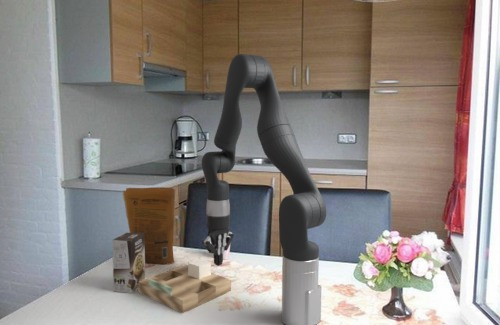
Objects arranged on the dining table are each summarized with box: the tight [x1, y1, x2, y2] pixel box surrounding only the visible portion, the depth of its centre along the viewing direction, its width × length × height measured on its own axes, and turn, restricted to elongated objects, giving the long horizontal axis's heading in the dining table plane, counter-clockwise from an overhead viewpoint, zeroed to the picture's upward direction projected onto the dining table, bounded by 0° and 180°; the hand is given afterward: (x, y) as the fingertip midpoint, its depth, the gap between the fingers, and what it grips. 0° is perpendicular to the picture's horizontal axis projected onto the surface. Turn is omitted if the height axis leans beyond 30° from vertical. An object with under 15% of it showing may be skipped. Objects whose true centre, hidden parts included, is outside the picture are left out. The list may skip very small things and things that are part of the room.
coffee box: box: [112, 232, 146, 294], centre depth 125 cm, size 9×6×16 cm
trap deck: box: [138, 264, 232, 314], centre depth 122 cm, size 20×19×6 cm
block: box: [187, 258, 212, 279], centre depth 126 cm, size 5×5×4 cm
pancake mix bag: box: [122, 187, 177, 265], centre depth 146 cm, size 7×19×28 cm, turn 79°
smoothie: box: [223, 231, 233, 261], centre depth 152 cm, size 6×6×14 cm
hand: (218, 264), depth 133 cm, fingers closed
